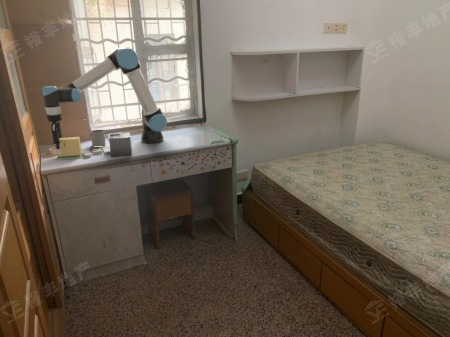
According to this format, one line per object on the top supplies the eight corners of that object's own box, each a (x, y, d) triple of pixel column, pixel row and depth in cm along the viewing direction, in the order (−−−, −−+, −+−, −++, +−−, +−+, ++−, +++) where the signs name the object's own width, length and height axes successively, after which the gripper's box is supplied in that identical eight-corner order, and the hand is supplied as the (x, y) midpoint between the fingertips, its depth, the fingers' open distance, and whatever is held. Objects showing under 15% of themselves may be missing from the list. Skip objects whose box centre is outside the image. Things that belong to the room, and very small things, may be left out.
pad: (83, 153, 219) (83, 153, 219) (81, 158, 211) (81, 157, 211) (58, 155, 216) (58, 154, 216) (55, 160, 208) (55, 159, 207)
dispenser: (131, 149, 227) (130, 132, 223) (131, 155, 216) (129, 137, 212) (111, 151, 224) (109, 133, 220) (110, 157, 213) (107, 138, 209)
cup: (91, 148, 230) (89, 133, 227) (93, 144, 238) (91, 129, 234) (105, 147, 232) (103, 132, 228) (106, 143, 239) (104, 129, 236)
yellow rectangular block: (81, 152, 216) (79, 136, 213) (80, 155, 212) (78, 139, 208) (58, 154, 214) (56, 138, 210) (57, 156, 209) (54, 140, 205)
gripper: (50, 111, 210) (56, 148, 218) (43, 117, 194) (50, 157, 202) (63, 110, 212) (69, 147, 220) (57, 116, 195) (64, 156, 204)
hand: (60, 152), depth 211 cm, fingers closed on yellow rectangular block, 5 cm apart
